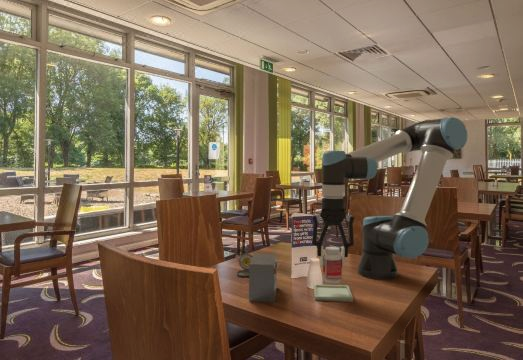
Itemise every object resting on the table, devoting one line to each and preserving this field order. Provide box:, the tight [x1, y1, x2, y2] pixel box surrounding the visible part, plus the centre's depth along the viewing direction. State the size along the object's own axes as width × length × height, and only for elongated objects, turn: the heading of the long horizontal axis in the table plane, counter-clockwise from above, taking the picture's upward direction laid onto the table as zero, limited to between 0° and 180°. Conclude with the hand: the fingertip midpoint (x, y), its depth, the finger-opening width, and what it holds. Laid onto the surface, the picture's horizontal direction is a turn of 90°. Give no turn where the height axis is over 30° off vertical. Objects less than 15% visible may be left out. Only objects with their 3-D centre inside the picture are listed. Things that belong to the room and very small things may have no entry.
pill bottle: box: [322, 246, 343, 284], centre depth 124 cm, size 6×6×11 cm
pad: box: [313, 284, 354, 302], centre depth 124 cm, size 12×12×1 cm
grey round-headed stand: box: [236, 247, 253, 277], centre depth 147 cm, size 8×8×10 cm
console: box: [248, 253, 279, 303], centre depth 124 cm, size 9×14×12 cm, turn 174°
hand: (332, 266), depth 124 cm, fingers closed on pill bottle, 6 cm apart
